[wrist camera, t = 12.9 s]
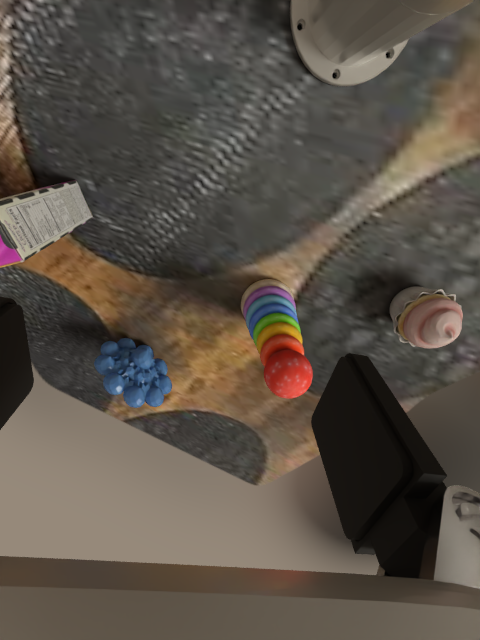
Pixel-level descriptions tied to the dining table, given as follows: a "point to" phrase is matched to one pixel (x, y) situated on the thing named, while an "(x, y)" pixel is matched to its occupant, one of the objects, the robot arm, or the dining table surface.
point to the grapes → (133, 373)
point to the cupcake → (426, 317)
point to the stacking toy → (277, 337)
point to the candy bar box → (39, 219)
